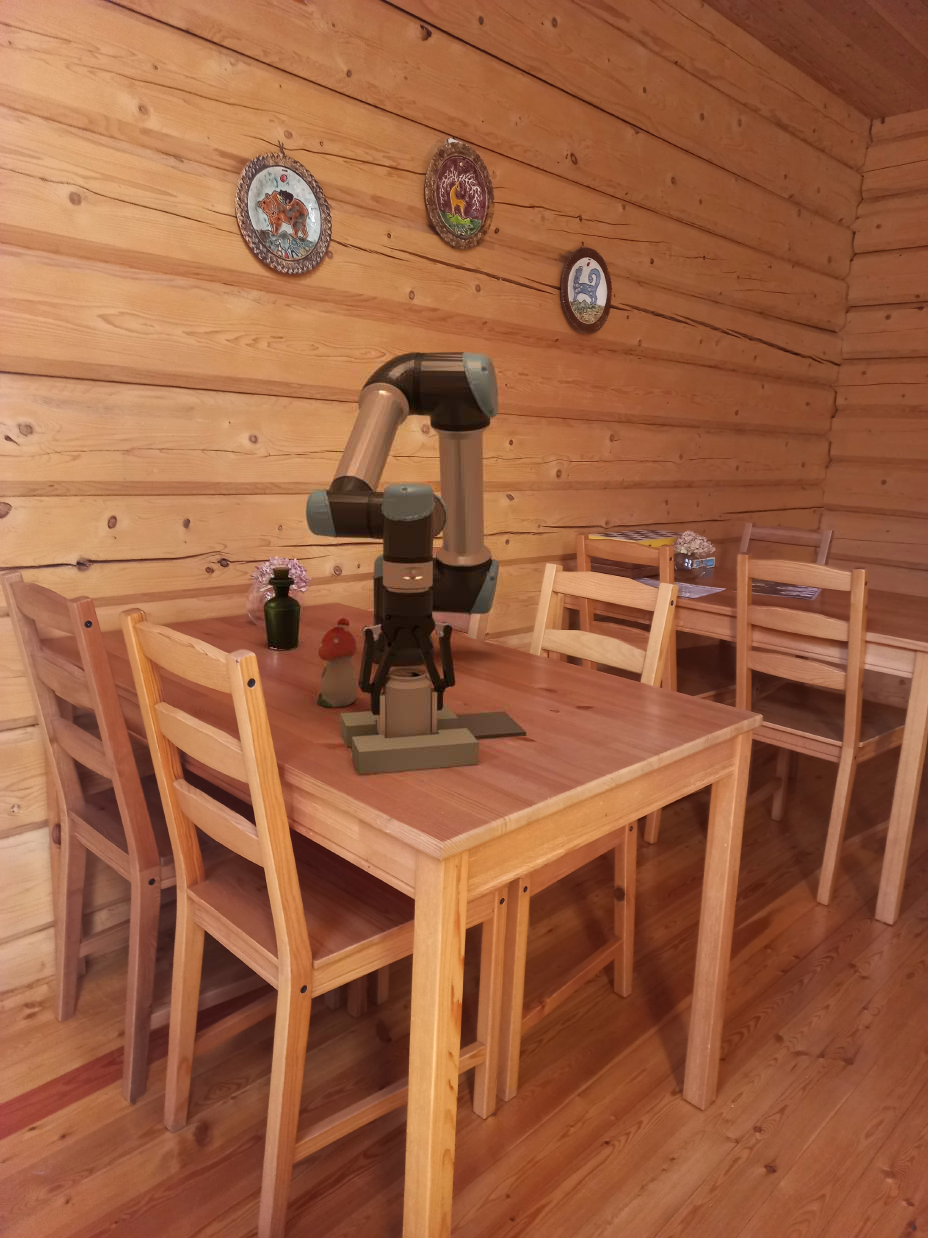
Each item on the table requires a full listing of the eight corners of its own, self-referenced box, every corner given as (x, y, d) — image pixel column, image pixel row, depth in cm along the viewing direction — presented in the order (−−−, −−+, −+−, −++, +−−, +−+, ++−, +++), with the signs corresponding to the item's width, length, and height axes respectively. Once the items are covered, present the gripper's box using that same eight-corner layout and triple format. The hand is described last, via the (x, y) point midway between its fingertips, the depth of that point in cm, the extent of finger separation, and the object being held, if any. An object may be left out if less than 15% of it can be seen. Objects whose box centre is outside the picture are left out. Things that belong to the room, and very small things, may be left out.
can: (436, 750, 137) (437, 675, 134) (389, 755, 134) (389, 679, 132) (422, 734, 144) (423, 663, 141) (377, 739, 141) (377, 666, 139)
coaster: (444, 719, 153) (444, 715, 153) (504, 714, 156) (504, 711, 156) (462, 740, 143) (462, 736, 143) (526, 735, 146) (526, 731, 146)
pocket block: (340, 733, 145) (340, 713, 144) (446, 725, 150) (447, 705, 149) (359, 775, 128) (359, 752, 127) (478, 764, 133) (478, 742, 132)
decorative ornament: (340, 693, 167) (339, 615, 164) (368, 699, 164) (368, 619, 160) (307, 705, 159) (306, 624, 156) (336, 712, 156) (336, 628, 153)
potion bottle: (271, 653, 195) (269, 572, 191) (259, 645, 201) (257, 566, 198) (306, 649, 199) (305, 569, 195) (294, 641, 205) (292, 564, 202)
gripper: (344, 595, 127) (345, 745, 132) (479, 590, 133) (476, 734, 138) (336, 585, 134) (338, 729, 139) (465, 581, 140) (462, 719, 145)
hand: (406, 731), depth 139 cm, fingers closed on can, 7 cm apart
